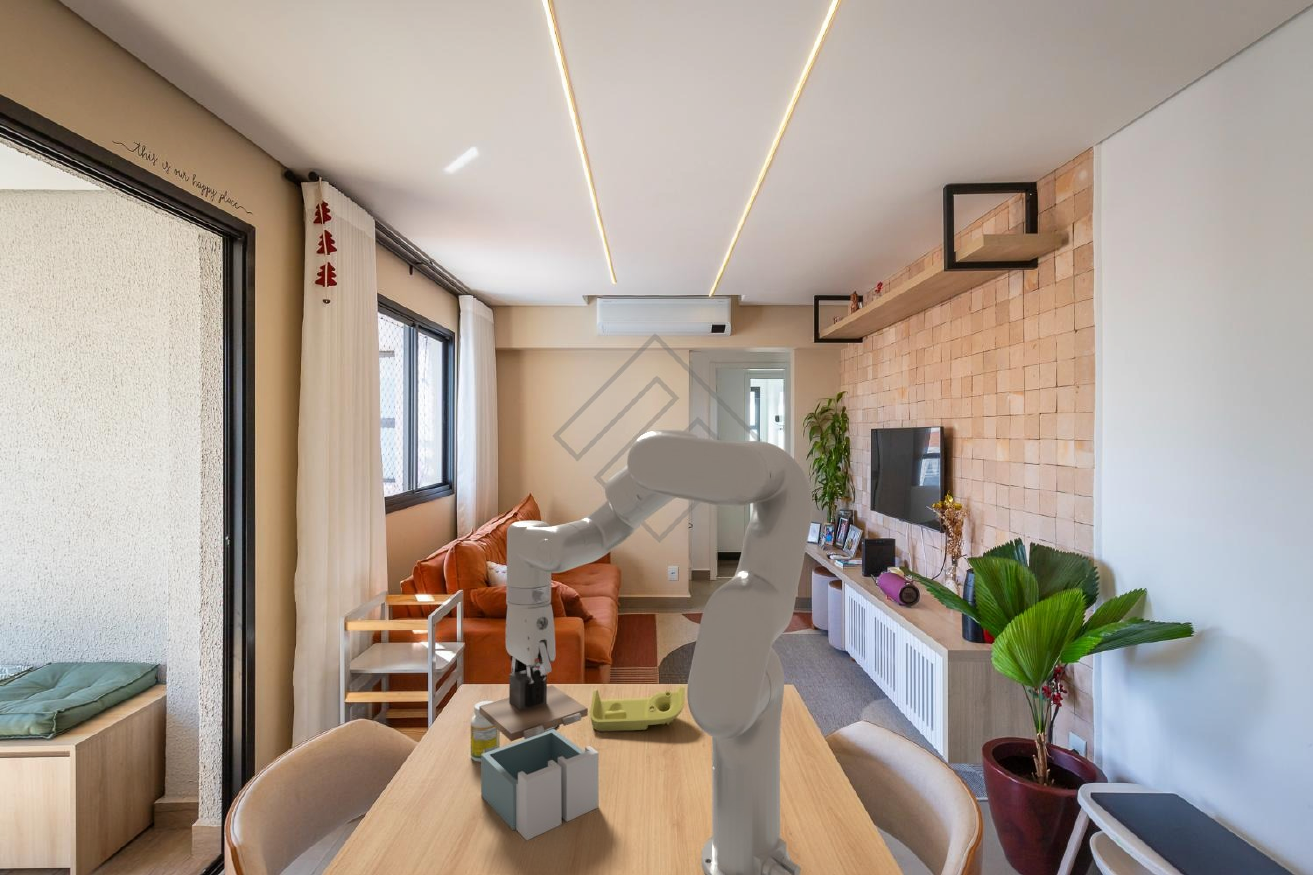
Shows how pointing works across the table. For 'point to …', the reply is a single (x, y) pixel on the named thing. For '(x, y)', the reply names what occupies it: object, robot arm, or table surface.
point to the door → (531, 710)
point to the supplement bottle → (482, 734)
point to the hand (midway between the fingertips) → (527, 698)
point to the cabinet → (540, 782)
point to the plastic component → (636, 711)
